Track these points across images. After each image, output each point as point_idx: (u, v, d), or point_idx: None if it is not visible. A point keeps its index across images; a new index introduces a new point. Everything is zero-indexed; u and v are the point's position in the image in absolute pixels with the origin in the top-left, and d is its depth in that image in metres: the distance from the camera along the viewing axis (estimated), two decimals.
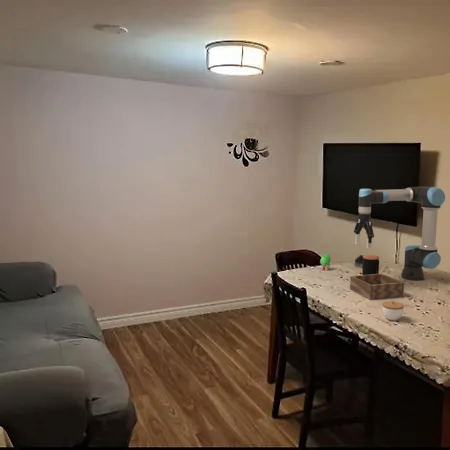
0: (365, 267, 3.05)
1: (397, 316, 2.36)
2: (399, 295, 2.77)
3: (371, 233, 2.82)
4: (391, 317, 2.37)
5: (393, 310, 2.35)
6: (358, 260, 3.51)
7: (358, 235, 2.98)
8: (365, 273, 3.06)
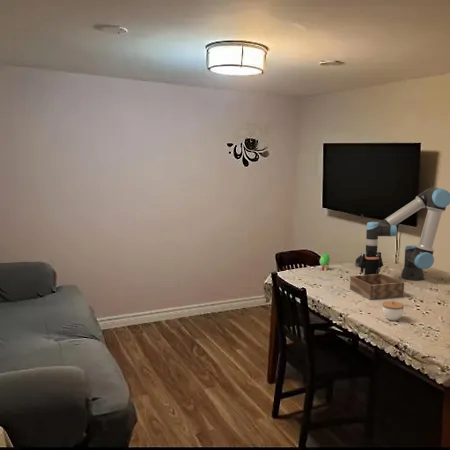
0: (365, 267, 3.05)
1: (397, 316, 2.36)
2: (399, 295, 2.77)
3: (359, 263, 3.06)
4: (391, 317, 2.37)
5: (393, 310, 2.35)
6: (359, 260, 3.51)
7: None
8: (365, 273, 3.06)
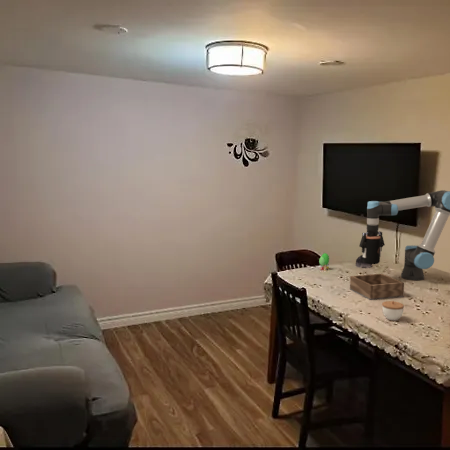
0: (366, 247, 3.03)
1: (397, 316, 2.36)
2: (399, 295, 2.77)
3: (360, 243, 3.04)
4: (391, 317, 2.37)
5: (393, 310, 2.35)
6: (359, 260, 3.51)
7: None
8: (366, 253, 3.03)
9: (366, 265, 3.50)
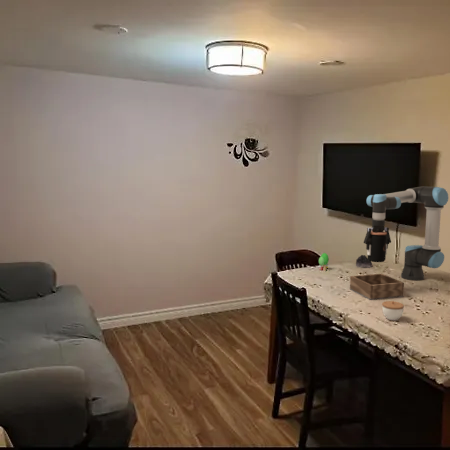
0: (371, 243, 2.80)
1: (397, 316, 2.36)
2: (399, 295, 2.77)
3: (365, 239, 2.81)
4: (391, 317, 2.37)
5: (393, 310, 2.35)
6: (359, 260, 3.51)
7: None
8: (371, 250, 2.81)
9: (366, 265, 3.50)
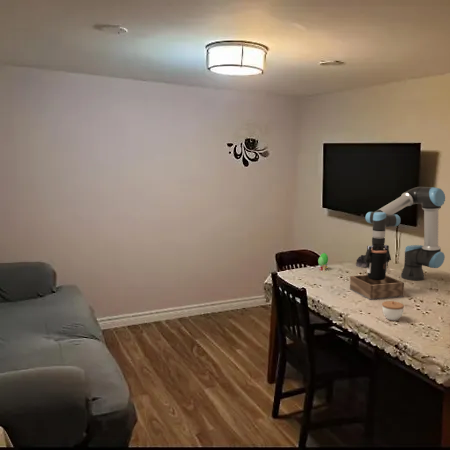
0: (371, 261, 2.80)
1: (397, 316, 2.36)
2: (399, 295, 2.77)
3: (365, 257, 2.81)
4: (391, 317, 2.37)
5: (393, 310, 2.35)
6: (360, 260, 3.51)
7: None
8: (371, 268, 2.81)
9: None
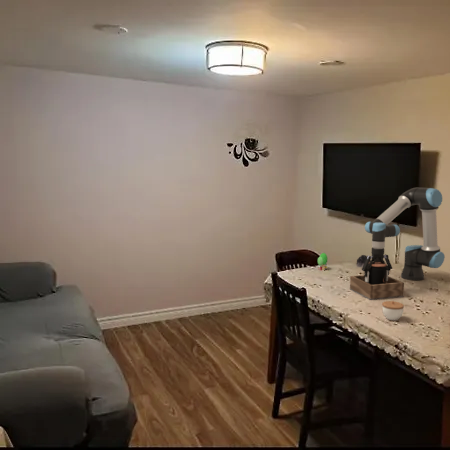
0: (371, 275, 2.82)
1: (397, 316, 2.36)
2: (399, 295, 2.77)
3: (363, 266, 2.81)
4: (391, 317, 2.37)
5: (393, 310, 2.35)
6: (360, 260, 3.51)
7: (386, 271, 2.85)
8: (371, 281, 2.82)
9: None
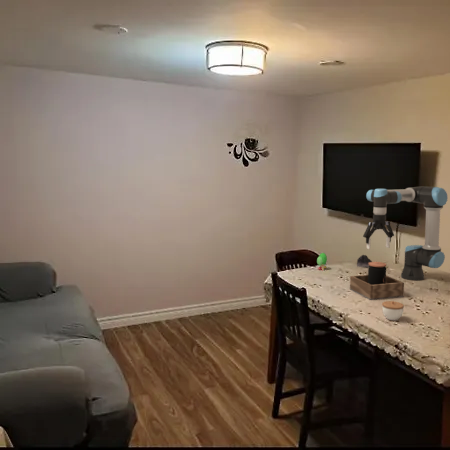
0: (371, 275, 2.82)
1: (397, 316, 2.36)
2: (399, 295, 2.77)
3: (365, 233, 2.78)
4: (391, 317, 2.37)
5: (393, 310, 2.35)
6: (360, 260, 3.52)
7: (387, 238, 2.82)
8: (371, 281, 2.82)
9: (367, 265, 3.50)
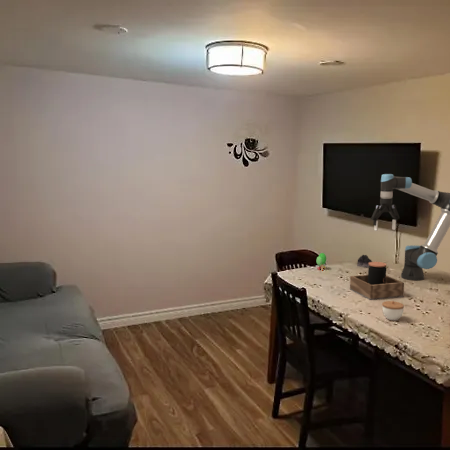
0: (371, 275, 2.82)
1: (397, 316, 2.36)
2: (399, 295, 2.77)
3: (372, 215, 2.97)
4: (391, 317, 2.37)
5: (393, 310, 2.35)
6: (361, 260, 3.52)
7: (393, 220, 3.02)
8: (371, 281, 2.82)
9: (368, 265, 3.51)
